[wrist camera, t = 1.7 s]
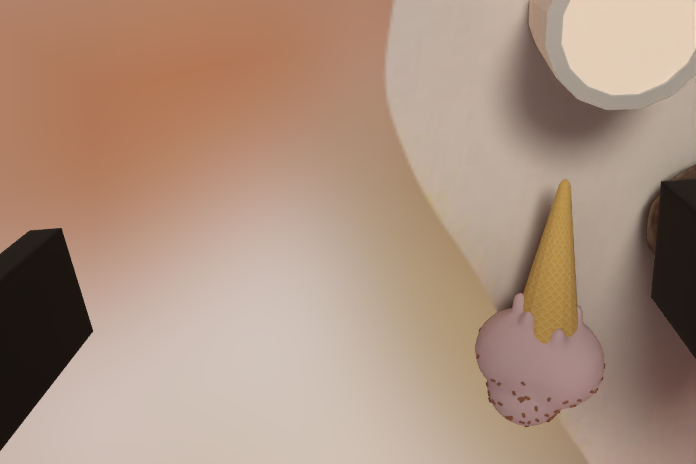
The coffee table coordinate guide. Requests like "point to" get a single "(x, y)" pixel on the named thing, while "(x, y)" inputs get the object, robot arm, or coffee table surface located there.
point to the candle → (652, 222)
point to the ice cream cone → (542, 334)
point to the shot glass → (617, 48)
